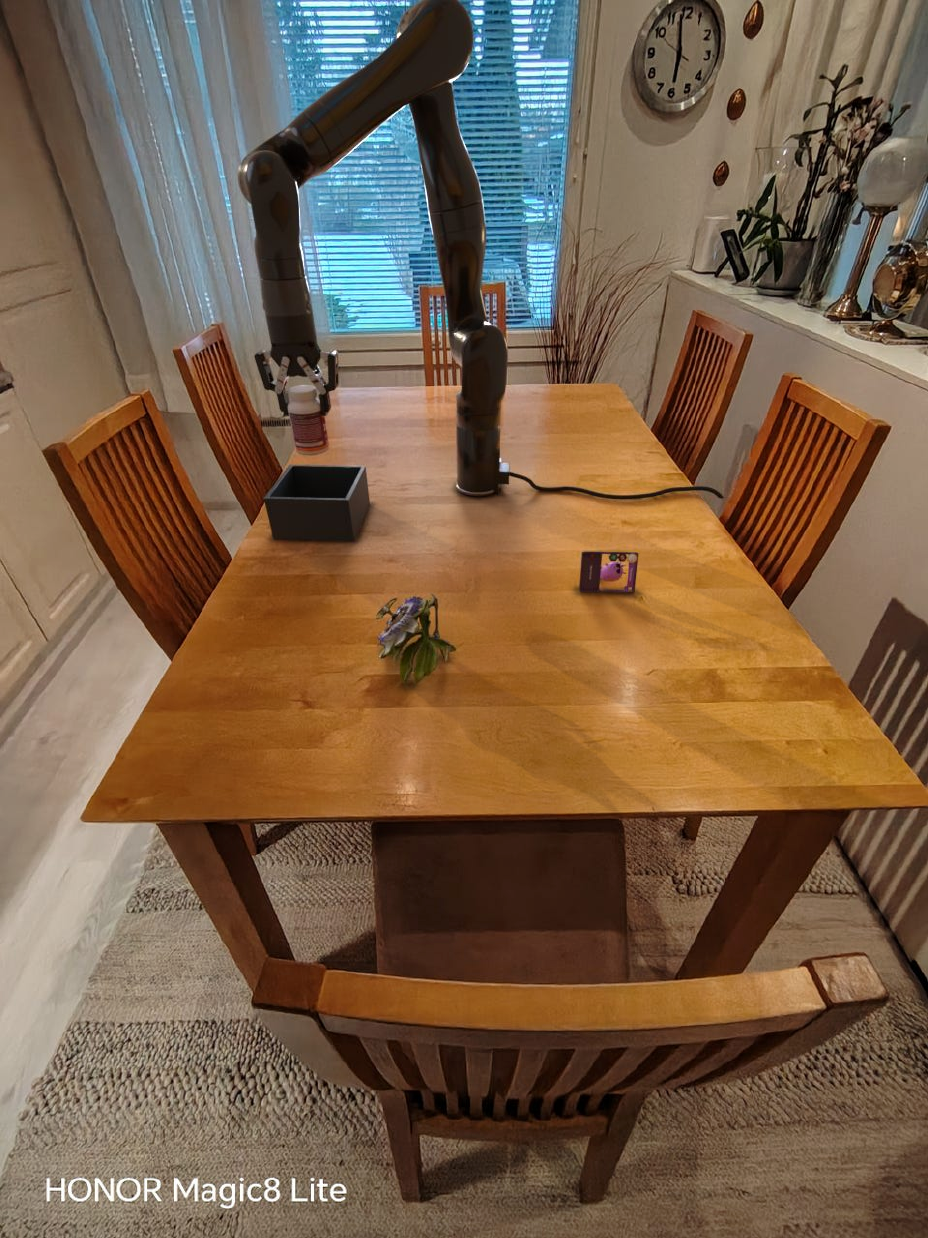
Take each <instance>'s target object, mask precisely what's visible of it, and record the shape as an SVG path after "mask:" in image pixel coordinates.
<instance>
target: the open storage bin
mask: <svg viewBox="0 0 928 1238" xmlns="http://www.w3.org/2000/svg"><path fill="white" fill-rule="evenodd" d="M367 474H368V473H367V467H366V465H332V464H331V465H327V464H326V465H325V464H323V465H322V464H289V465H288V466H287V467H286V468H285V470H284V471H283V473H281V475H280V477H279V478H278V479H277V480H276V482H275V483H274V485H272V487H271V488H270V490H268V492H267V494H266V495H265V496H264V498H263V502H264V506H265V511H266V515H267V519H268V524H269V528H270V531H271V536H272V540H275V541H310V542H311V541H313V542H314V541H315V542H348V543H349V542H350V543H351V542H353V543H354V542H355V541H356V539H357V536H358V534H359V531H360V529H361V526H362V525H363V522H364V520H365V517H366V515H367V512H368V510H369V509H370V506H371V501H370V491H369V483H368V475H367Z"/></svg>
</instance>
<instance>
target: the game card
mask: <svg viewBox="0 0 928 1238" xmlns="http://www.w3.org/2000/svg"><path fill="white" fill-rule="evenodd" d="M639 554H640V553H638V552H637V551H601V550H600V551H599V550H598V551H596V550H586V551H585V550H582V551H581V558H580V568H579V569H580V571H579V584H578V591H579V592H580V593H605V594H606V593H609V594H610V593H611V594H618V593H619V594H635V592H636V583H637V574H638V564H639V563H638V562H639ZM603 555H609V556H608V559H609V561H610V562H608V563H604V564H605V565H604V566H602V562H603ZM627 555H628V556H627ZM617 560H618V561H617ZM626 560H627V562H628V571H627V572H625V571H624V567H627V565H626V564H622V563H623V562H626ZM623 575H627V582H626V585H625V586H624V587H623V589H600V587H601V586H600V585H601V580H603V581H604V582H611V583H612V582H616V581H618V580H620V579H623V577H622V576H623ZM630 588H631V589H630Z"/></svg>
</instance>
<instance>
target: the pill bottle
mask: <svg viewBox="0 0 928 1238" xmlns="http://www.w3.org/2000/svg"><path fill="white" fill-rule="evenodd" d="M288 395H289V399H291V400H289V401H290V402H289V404H288V413H289V415H288V418H289V424H290V430H291V435H292V439H293V443H294V444H293V446H294V449H295V452H296V453H297V454H299V455H301V456H302V455H303V456H309V457H310V456H317V455H321V454H324V453H326V452H327V451H328V450H329V449H330V442H329V435H328V429H327V421H326V416H322V414H321V407H320V401H319V398H317V397H318V390H317V388H316V386H315V385H311V384H299V385H294V386H291V387H289V388H288Z"/></svg>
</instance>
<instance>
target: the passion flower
mask: <svg viewBox="0 0 928 1238" xmlns="http://www.w3.org/2000/svg"><path fill="white" fill-rule="evenodd" d="M430 595H431V596H430V599H429V600H428V599H426V598H424V597H421V596H416V595H415V596H409V599H407V598H405V600H404V603H403V604H402V603H401V604H400V606H398V607H397V609H396V611H395V612H392V611H391V608H392V606H393V605H394V604H395V603H396V601H398V597H397V596H395V597H393V598H392V599H390V600H389V601H388V602H387V603H386V604H384V605H382V607H381V608H380V609H379V610H378V612H377V613H376V616H375V619H377V620H379V619H383V618H384V616H386V615H387V614H388V615H390V616H391V617H390V618H389V619H388V620H386V622H385V623H386V628H385V629H384V630H383V631H382V632H381V634H380V635H379V636H378V637H377V640H378V641H379V643H378V644H377V645H376V647H380V646H382V647H383V648H384V649H382V651H381V653H380V654H379V659H385V658H387V657H388V656H390V655H392V657H393V658H392V662H393V665H395V666H397V663H398V659H399V657H400V656H401V658H400V662H399V676H400V677H399V678H400V680H401V681H402V682H404V683H405V684H406V685H407V686H408V685H409V679H410V676H411V674H412V672H413V682H414V684H418V683H420V682H421V681H423V680H424V678H425V677H429V676H430V675H431V674H433V672H434V671H435V670H436V668H437V666H438V665H439V664H438V663H439V660H440V654H441V655H442V658H443V659H444V662H445V663H448V662H449V657H450V653H451V652H456V651H457V647H456V646H455V645H454V644H452V643H451V642H449V641H448V640H446V639H444V638H441V634H440V632H439V610H438V609H439V601H438V600H439V599H438V598H437V597H436V596H435V595H434V593H431V594H430ZM431 607H434V612H435V613H434V615H435V616H434V617H435V618H434V619H435V620H434V621H435V622H434V623H435V624H434V625H435V628H434V631H433V633H432V634H430V627H431V624H432V621H431V620H430V617H431V616H430V615H431V610H430V609H431ZM418 619H419V621H418ZM420 627H421V628H420ZM416 636H420V637H418V638H417V639H416V641H413V642H411V643H409V641H410V640H412V638H415V637H416ZM408 643H409V644H408ZM407 644H408V645H407ZM439 651H440V653H439ZM444 653H445V655H444ZM415 656H416V657H415ZM414 660H415V666H414ZM413 666H414V667H413Z"/></svg>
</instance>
